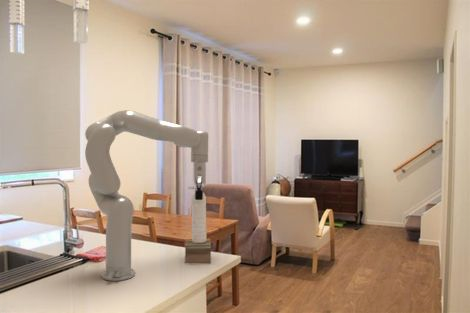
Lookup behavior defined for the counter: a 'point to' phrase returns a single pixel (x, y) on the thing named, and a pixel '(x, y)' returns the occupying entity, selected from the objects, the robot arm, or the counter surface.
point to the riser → (197, 252)
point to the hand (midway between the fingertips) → (198, 198)
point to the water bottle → (198, 219)
